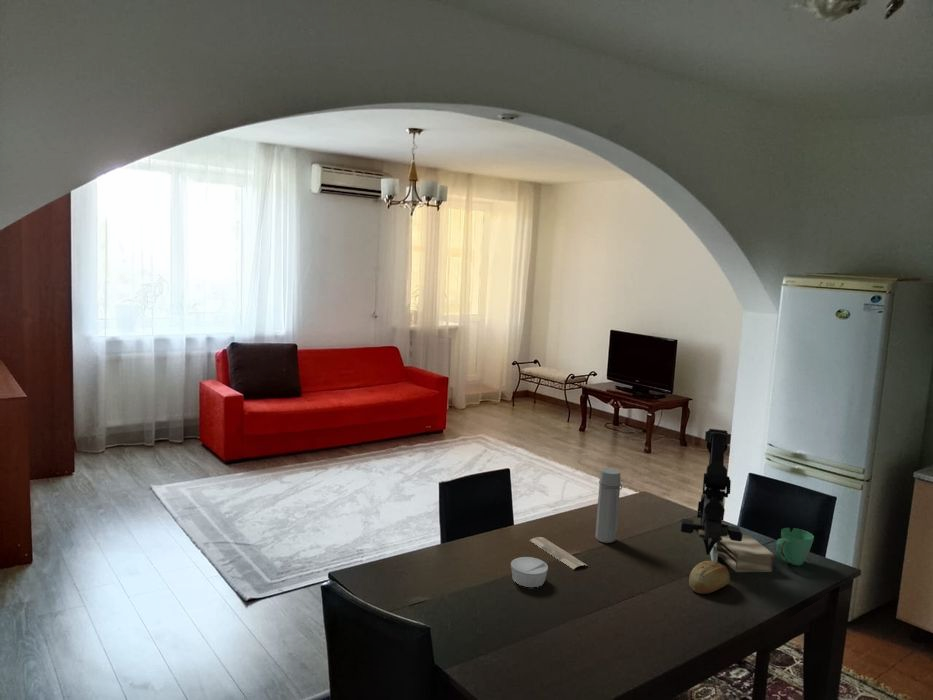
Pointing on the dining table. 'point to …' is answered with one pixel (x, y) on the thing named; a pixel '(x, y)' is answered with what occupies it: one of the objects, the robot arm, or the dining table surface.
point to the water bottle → (608, 505)
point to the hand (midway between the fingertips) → (707, 554)
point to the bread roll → (708, 577)
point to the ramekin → (529, 571)
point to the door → (714, 553)
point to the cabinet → (745, 554)
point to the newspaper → (557, 552)
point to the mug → (794, 545)
